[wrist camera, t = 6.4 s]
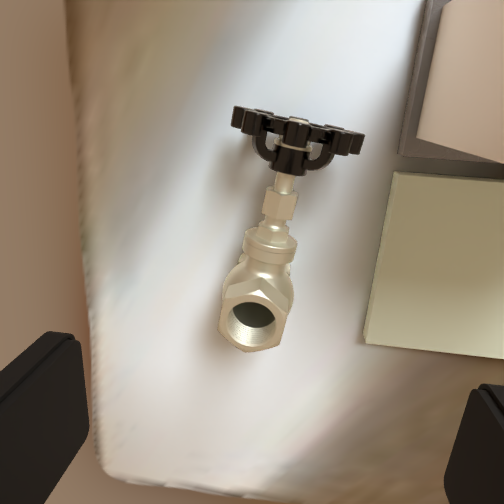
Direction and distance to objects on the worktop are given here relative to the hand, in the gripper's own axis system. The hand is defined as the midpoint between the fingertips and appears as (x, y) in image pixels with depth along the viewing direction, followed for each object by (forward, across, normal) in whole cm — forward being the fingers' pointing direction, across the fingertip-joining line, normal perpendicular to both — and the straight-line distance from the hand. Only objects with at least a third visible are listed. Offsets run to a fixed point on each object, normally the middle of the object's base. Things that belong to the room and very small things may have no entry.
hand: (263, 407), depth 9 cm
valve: (+16, +1, 0) cm, 16 cm away
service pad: (+16, -11, +2) cm, 20 cm away
